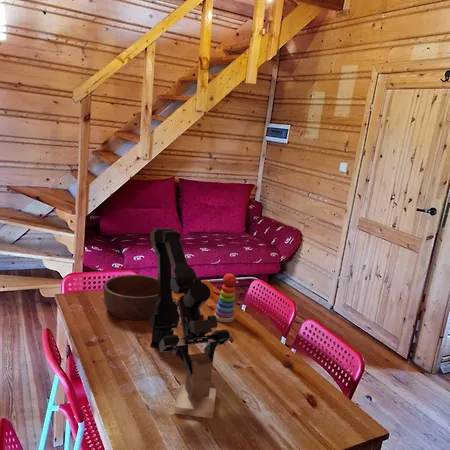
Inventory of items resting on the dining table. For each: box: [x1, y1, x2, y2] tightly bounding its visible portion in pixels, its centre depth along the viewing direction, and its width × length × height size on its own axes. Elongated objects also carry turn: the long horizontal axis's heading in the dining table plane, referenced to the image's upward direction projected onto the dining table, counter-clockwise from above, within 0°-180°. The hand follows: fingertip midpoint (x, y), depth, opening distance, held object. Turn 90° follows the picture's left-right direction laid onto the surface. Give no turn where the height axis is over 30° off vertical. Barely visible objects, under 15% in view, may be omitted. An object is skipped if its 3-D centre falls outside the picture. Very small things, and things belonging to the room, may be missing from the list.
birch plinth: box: [173, 384, 217, 419], centre depth 114 cm, size 10×10×2 cm
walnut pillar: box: [184, 352, 214, 400], centre depth 113 cm, size 5×5×10 cm
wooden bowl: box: [102, 274, 158, 321], centre depth 167 cm, size 25×25×10 cm
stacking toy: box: [213, 273, 237, 323], centre depth 166 cm, size 8×8×19 cm
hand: (201, 373), depth 111 cm, fingers closed on walnut pillar, 5 cm apart
